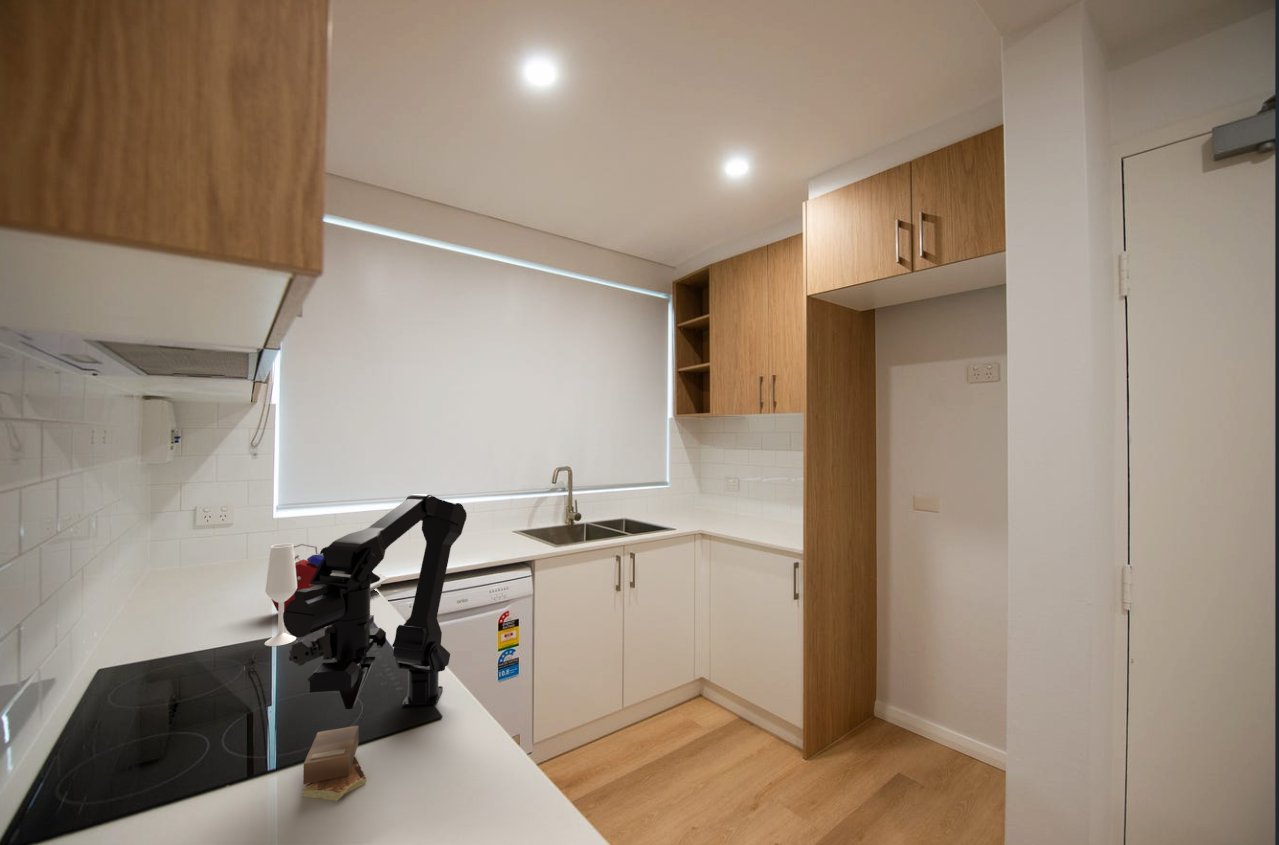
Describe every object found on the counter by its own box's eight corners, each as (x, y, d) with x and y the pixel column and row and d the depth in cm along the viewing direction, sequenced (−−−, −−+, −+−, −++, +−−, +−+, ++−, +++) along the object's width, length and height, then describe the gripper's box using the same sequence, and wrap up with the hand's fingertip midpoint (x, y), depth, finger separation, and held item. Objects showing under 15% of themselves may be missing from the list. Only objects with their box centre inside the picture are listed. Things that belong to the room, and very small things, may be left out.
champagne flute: (302, 635, 139) (303, 542, 139) (285, 646, 132) (286, 548, 133) (276, 635, 139) (277, 542, 139) (258, 646, 132) (259, 548, 133)
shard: (349, 756, 90) (349, 745, 90) (391, 760, 89) (391, 749, 89) (299, 800, 79) (300, 788, 79) (347, 806, 78) (347, 793, 78)
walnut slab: (317, 731, 89) (303, 763, 80) (358, 724, 90) (348, 754, 82) (317, 750, 88) (303, 784, 80) (358, 743, 90) (348, 775, 82)
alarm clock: (331, 606, 162) (332, 539, 162) (327, 615, 154) (328, 545, 154) (272, 612, 156) (274, 543, 156) (265, 622, 148) (266, 549, 148)
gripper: (322, 599, 98) (321, 684, 98) (269, 639, 80) (268, 745, 80) (387, 596, 100) (386, 680, 100) (350, 635, 81) (349, 738, 81)
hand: (349, 708), depth 90 cm, fingers closed
